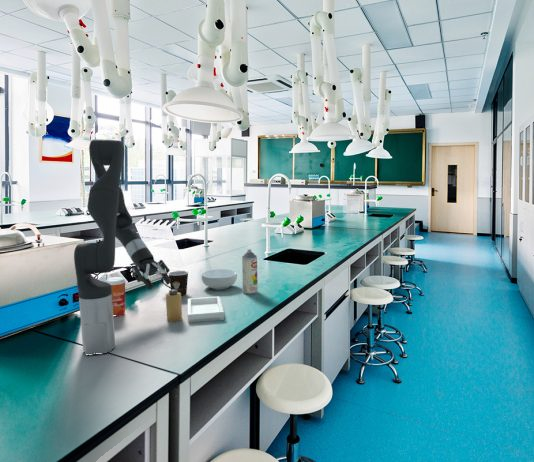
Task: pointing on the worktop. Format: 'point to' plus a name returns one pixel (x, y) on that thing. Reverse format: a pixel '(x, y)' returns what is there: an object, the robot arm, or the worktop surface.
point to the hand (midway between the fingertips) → (160, 285)
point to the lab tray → (205, 309)
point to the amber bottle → (173, 306)
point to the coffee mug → (178, 281)
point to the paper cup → (117, 294)
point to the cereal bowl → (219, 278)
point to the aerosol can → (249, 273)
